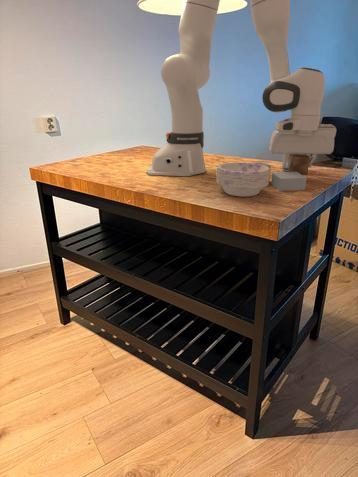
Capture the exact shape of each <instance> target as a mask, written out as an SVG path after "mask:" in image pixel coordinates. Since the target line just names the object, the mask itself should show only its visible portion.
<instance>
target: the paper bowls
mask: <svg viewBox="0 0 358 477" xmlns="http://www.w3.org/2000/svg"><path fill="white" fill-rule="evenodd" d="M255 163H256V162H226V163H221V164H219V165H217V166H216V174H215V175H216V181H215V182H216V185H217V184H218V185H220V186H222V187H221V188H222V189H223V191H224V193H225V194H227V195H229V196H234V197H240V198H241V197H242V198H247V197H253V196H256V195H258V194H259V193H260V192H261V190H262V189H264V188H266V187H268V186H269V183H270V181H269V170H270V171H271V169H269V167H267V166H265V165H261V164H255ZM268 182H269V183H268Z"/></svg>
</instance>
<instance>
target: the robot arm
mask: <svg viewBox="0 0 358 477" xmlns="http://www.w3.org/2000/svg"><path fill="white" fill-rule="evenodd" d="M249 1H250V2H249V3H250V11H251V12H250V13H251V18H252V22H253V26H254V29H255V33H256V34H257V37H258V38H259V39H260V41H261V42H262V44H263V46H264V48H265V51H266V55H267V61H268V69H269V77H270V78H269V79H270V83H269V84H268V85H267V86H266V87H265V88H264V90H263V93H262V96H261V97H262V103H263V105H264V108H266V109H267V110H268V111H270V112H271V113H283V112H287V111H290V113H291V114H290V117H288V118H284V119H283V120H279V121H276V122H275V123H274V124H275V130H274V131H273V132H272V134H271V137H270V140H269V141H270V142H269V149H268V150H269V152H270V153H271V154H273V155H274V154H280V155H281V154H282V155H284V157H285V159H286V161H287V162H286V167H292V162H291V161H289V159H288V157H290V154H306V155H309V157H310V160H309V167H308V169H309V168H312V165H313V163H314V161H315V160H316V158H317V155H331V154H332V153H333V152H334V148H335V138H336V135H337V128H336V126H335V125H333V124H331V123H328V124H324V123H320V120H321V106H322V103H323V100H324V95H325V82H326V80H325V75H324V73H323V72H322V71H321V70H319V69H316V68H310V67H300V68H299V69H297V70H296V71H294V72H293V73H291V72H290V64H289V63H290V61H289V53H288V41H289V40H288V38H289V29H290V28H289V27H290V15H291V11H290V10H291V8H290V7H291V6H290V5H291V3H290V2H291V1H290V0H249ZM220 2H221V0H183V3H182V10H181V13H180V14H181V15H180V18H179V25H178V37H179V44H180V45H179V49H180V50H179V53H176V54H173V55H171V56H168V57H167V58H166V59H165V60H164V62H163V63H162V65H161V69H160V76H161V79H162V82H163V83H164V84H165V87H166V89H167V95H168V100H169V103H170V110H171V132H170V131H168V132H167V133H166V134H165V136H166V143H165V144H164V145H163V146H162V147H161V148H159V149H158V150H157V151H156V152H155V153H154V155H153V157H152V161H151V162H152V163H151V165H149V166H147V168H146V174H148V175H150V176H167V177H168V176H169V177H170V176H171V177H191V176H193V175H199V174H204V173H206V172H207V167H206V163H205V157H204V155H205V154H204V146H205V135H204V131H203V130H204V128H203V124H204V123H203V120H204V119H203V116H204V114H203V113H204V111H203V109H204V108H203V106H202V104H201V99H200V95H199V93H200V92H199V89H201V88H202V87H204V86H205V85H206V84H207V83H208V81H209V79H210V76H211V71H210V63H211V62H210V60H211V47H212V45H211V44H212V39H213V38H212V37H213V33H214V29H215V24H216V19H217V14H218V10H219V6H220Z"/></svg>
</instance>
